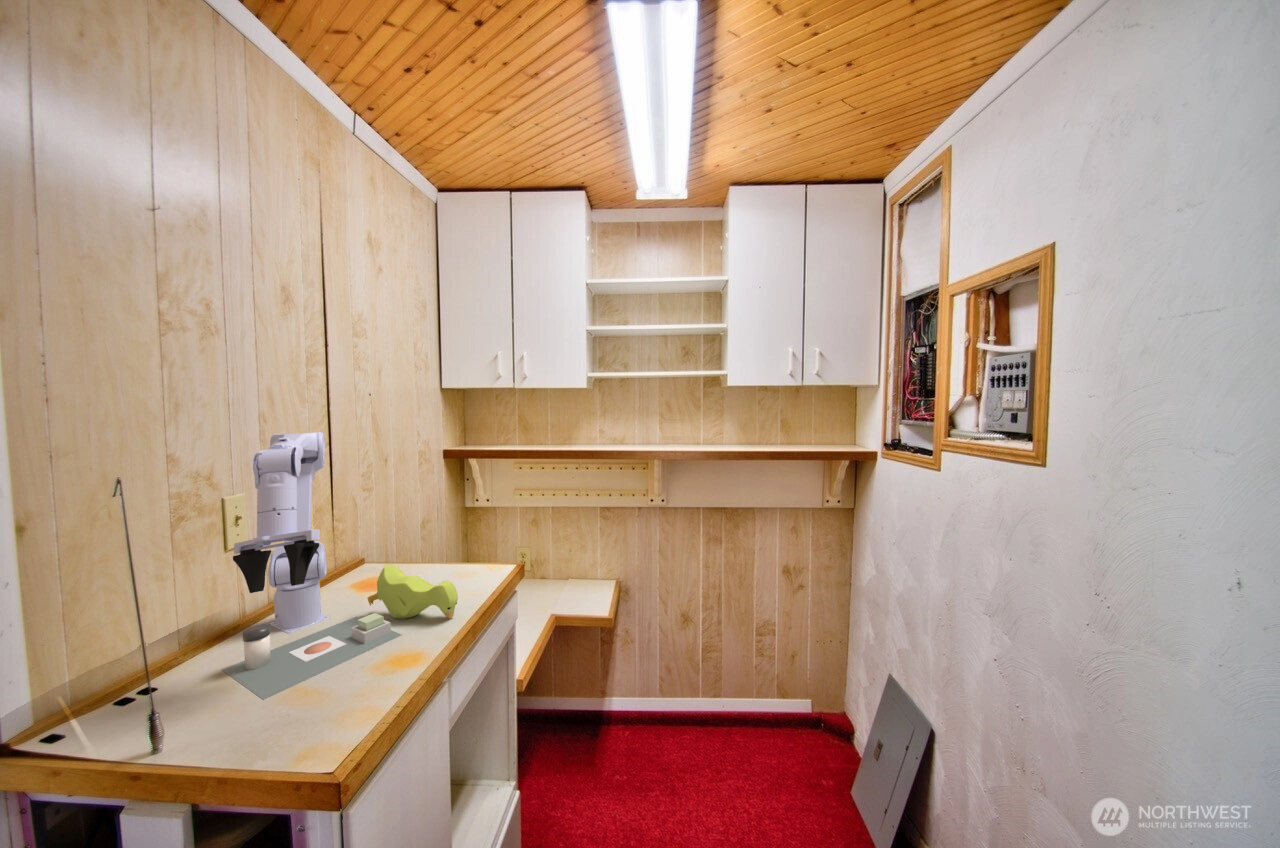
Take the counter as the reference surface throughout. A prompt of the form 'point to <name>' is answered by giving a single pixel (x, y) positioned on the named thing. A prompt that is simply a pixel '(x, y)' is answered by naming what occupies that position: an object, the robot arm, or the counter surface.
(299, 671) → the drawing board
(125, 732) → the counter surface
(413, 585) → the toy
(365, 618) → the button
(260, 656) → the jar with dark lid
